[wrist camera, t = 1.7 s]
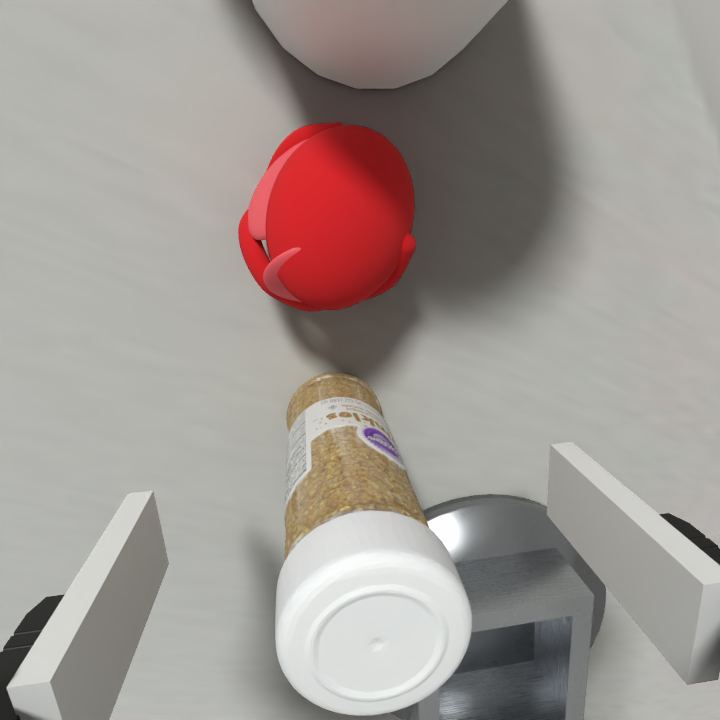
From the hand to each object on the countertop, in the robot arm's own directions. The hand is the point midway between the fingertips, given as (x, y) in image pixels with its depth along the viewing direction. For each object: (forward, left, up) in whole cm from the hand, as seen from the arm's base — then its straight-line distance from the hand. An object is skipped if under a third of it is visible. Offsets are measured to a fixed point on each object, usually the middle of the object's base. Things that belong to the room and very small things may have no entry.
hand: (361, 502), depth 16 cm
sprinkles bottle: (0, 0, -8) cm, 8 cm away
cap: (0, +9, -8) cm, 12 cm away
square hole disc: (+7, -13, -8) cm, 17 cm away
